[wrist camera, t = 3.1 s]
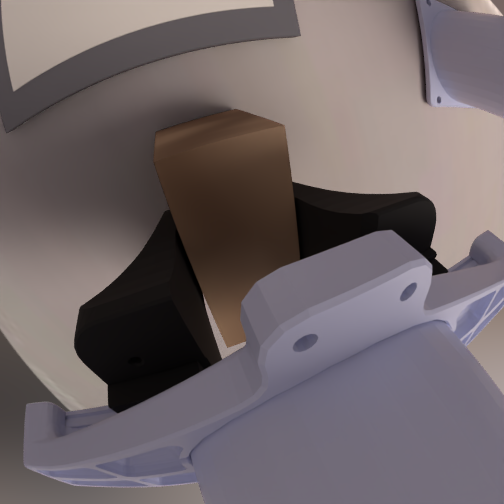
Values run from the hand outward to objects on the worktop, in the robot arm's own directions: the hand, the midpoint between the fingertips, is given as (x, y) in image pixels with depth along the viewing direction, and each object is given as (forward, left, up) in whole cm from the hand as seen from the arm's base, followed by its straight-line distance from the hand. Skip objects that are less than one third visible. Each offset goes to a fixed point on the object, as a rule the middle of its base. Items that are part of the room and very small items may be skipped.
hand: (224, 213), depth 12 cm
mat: (+1, -12, -1) cm, 12 cm away
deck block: (0, 0, -1) cm, 1 cm away
